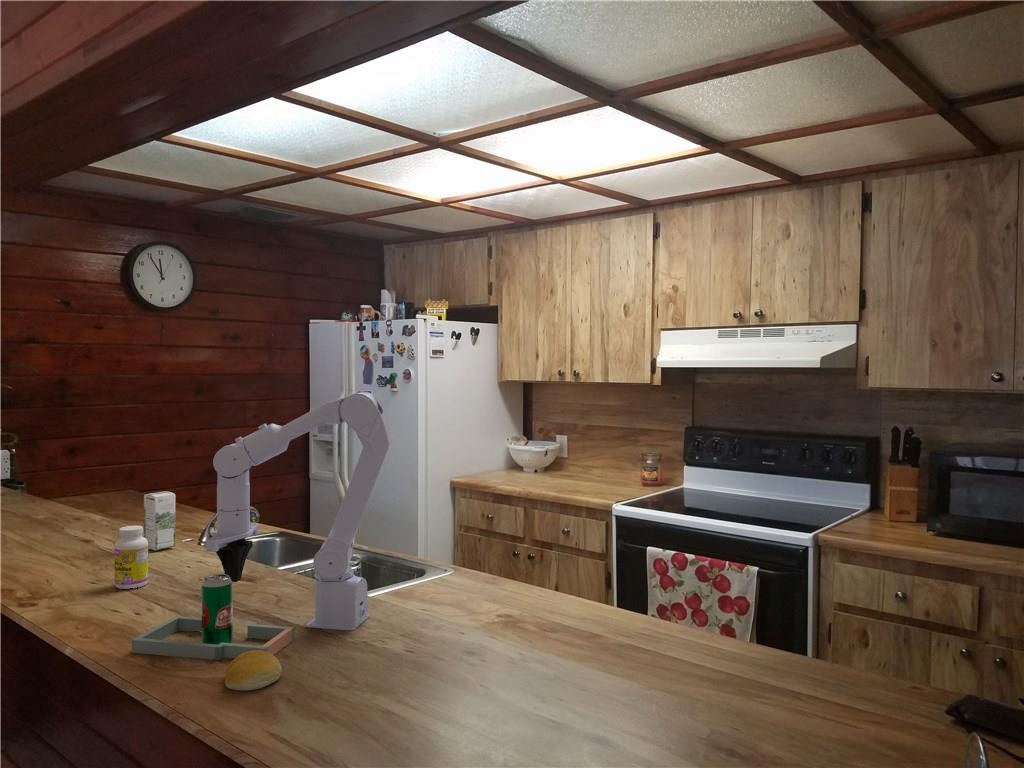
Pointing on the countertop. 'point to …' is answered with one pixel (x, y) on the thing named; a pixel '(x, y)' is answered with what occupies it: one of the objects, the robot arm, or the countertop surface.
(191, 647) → the corral
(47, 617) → the countertop surface
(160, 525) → the syrup box
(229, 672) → the bread roll
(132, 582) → the supplement bottle
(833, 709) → the countertop surface
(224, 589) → the soda can
